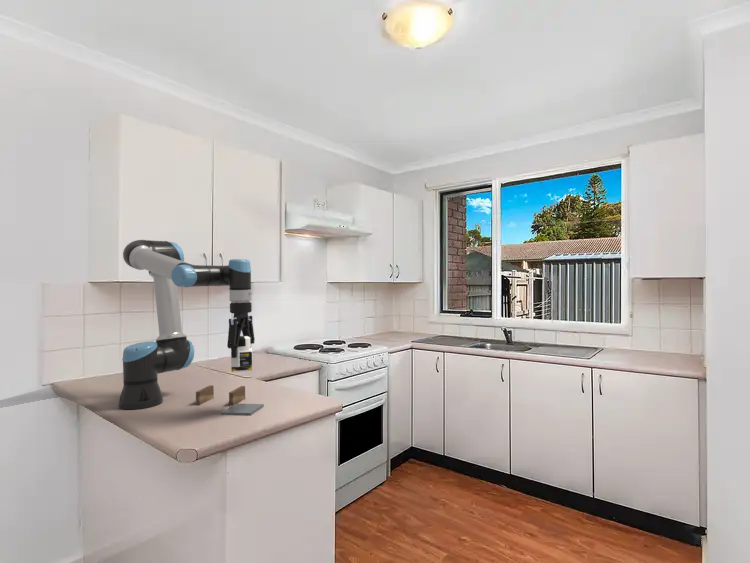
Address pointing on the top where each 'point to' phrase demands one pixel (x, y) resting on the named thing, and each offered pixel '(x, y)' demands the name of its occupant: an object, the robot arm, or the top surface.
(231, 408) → the trivet
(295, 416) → the top surface
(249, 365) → the medicine bottle
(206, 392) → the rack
